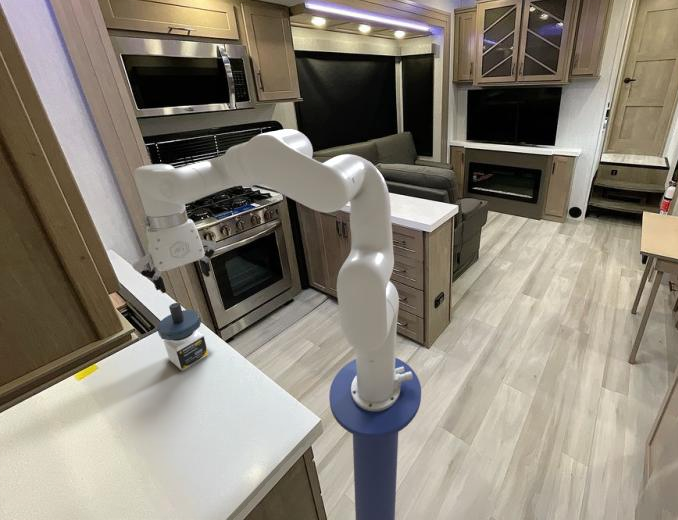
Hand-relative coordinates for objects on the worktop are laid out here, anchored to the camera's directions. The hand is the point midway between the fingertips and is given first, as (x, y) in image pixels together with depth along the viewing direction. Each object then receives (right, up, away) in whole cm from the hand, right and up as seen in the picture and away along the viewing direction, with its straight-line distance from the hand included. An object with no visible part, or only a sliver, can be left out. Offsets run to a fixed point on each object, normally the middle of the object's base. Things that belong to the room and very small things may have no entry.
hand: (185, 282), depth 79 cm
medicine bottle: (-6, -24, +11) cm, 27 cm away
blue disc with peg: (-6, -14, +7) cm, 16 cm away
